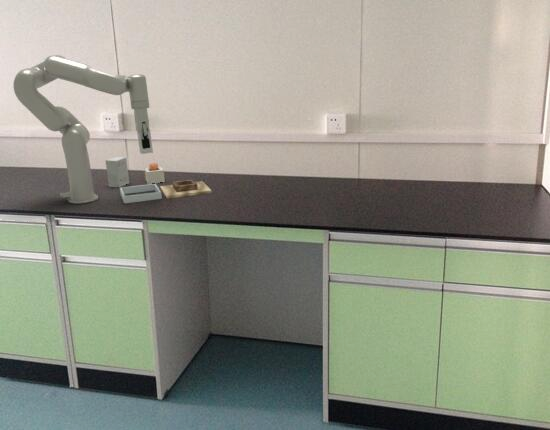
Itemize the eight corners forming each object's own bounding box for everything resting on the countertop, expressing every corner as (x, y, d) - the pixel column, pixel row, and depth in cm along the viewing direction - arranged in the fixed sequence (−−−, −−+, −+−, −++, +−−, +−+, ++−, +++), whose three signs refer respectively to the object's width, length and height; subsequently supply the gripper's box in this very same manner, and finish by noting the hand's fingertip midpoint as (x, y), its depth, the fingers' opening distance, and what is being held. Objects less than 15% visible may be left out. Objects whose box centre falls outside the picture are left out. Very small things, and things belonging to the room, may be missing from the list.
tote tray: (124, 203, 234) (123, 196, 233) (120, 194, 248) (119, 187, 247) (161, 198, 239) (161, 192, 238) (156, 189, 253) (155, 183, 252)
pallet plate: (166, 198, 239) (166, 190, 238) (160, 188, 255) (159, 181, 254) (211, 193, 245) (211, 185, 244) (202, 183, 261) (201, 176, 260)
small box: (118, 182, 268) (115, 156, 264) (129, 183, 266) (126, 157, 262) (108, 187, 261) (105, 160, 257) (119, 187, 259) (116, 160, 255)
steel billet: (141, 154, 236) (138, 130, 233) (139, 151, 240) (136, 129, 237) (153, 152, 237) (150, 129, 234) (151, 150, 242) (148, 127, 239)
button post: (148, 184, 264) (146, 172, 262) (145, 180, 271) (144, 168, 269) (164, 182, 266) (163, 170, 264) (162, 178, 273) (160, 166, 271)
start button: (150, 171, 264) (149, 165, 263) (149, 170, 268) (148, 164, 267) (158, 170, 266) (158, 164, 265) (157, 169, 269) (157, 163, 268)
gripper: (129, 103, 239) (134, 144, 245) (133, 107, 224) (139, 151, 229) (146, 101, 241) (151, 142, 247) (151, 105, 226) (157, 149, 232)
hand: (145, 146), depth 238 cm, fingers closed on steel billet, 5 cm apart
